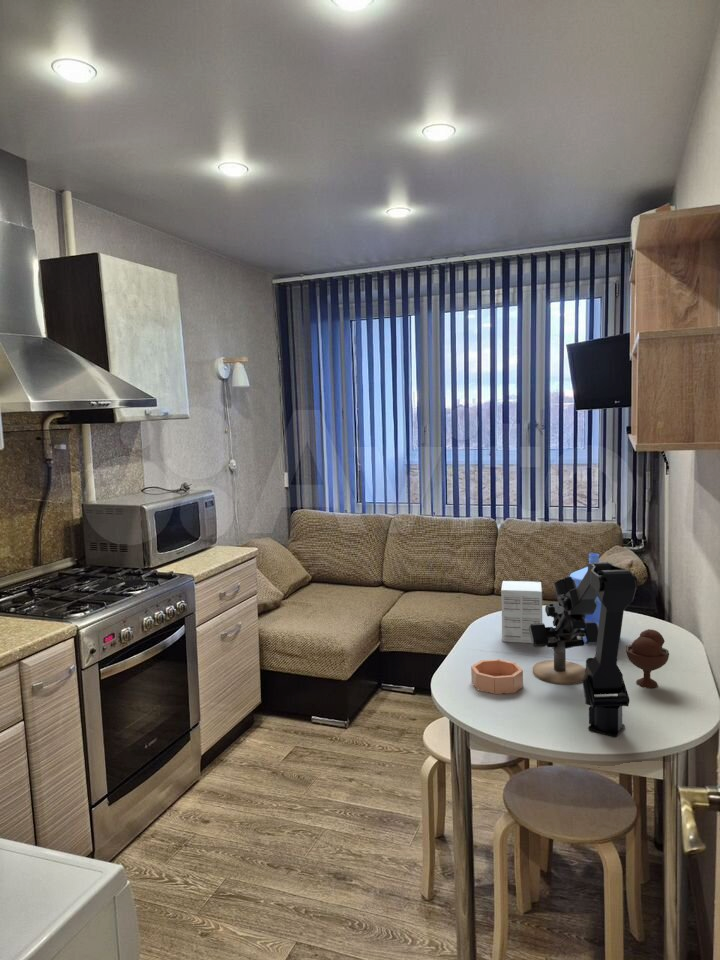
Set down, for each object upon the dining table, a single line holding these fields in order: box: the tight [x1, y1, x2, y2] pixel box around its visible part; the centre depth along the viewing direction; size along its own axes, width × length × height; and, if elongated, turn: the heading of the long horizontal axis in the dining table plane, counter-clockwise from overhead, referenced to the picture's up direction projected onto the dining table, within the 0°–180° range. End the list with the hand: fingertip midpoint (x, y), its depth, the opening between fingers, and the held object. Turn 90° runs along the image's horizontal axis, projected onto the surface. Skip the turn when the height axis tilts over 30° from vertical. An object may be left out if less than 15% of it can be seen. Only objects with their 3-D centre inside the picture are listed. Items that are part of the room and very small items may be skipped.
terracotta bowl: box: [470, 658, 524, 695], centre depth 179 cm, size 13×13×4 cm
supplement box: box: [500, 580, 543, 644], centre depth 218 cm, size 13×13×18 cm
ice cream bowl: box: [625, 629, 670, 689], centre depth 175 cm, size 11×11×15 cm
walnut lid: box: [532, 640, 586, 685], centre depth 185 cm, size 15×15×13 cm
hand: (558, 647), depth 186 cm, fingers closed on walnut lid, 3 cm apart
